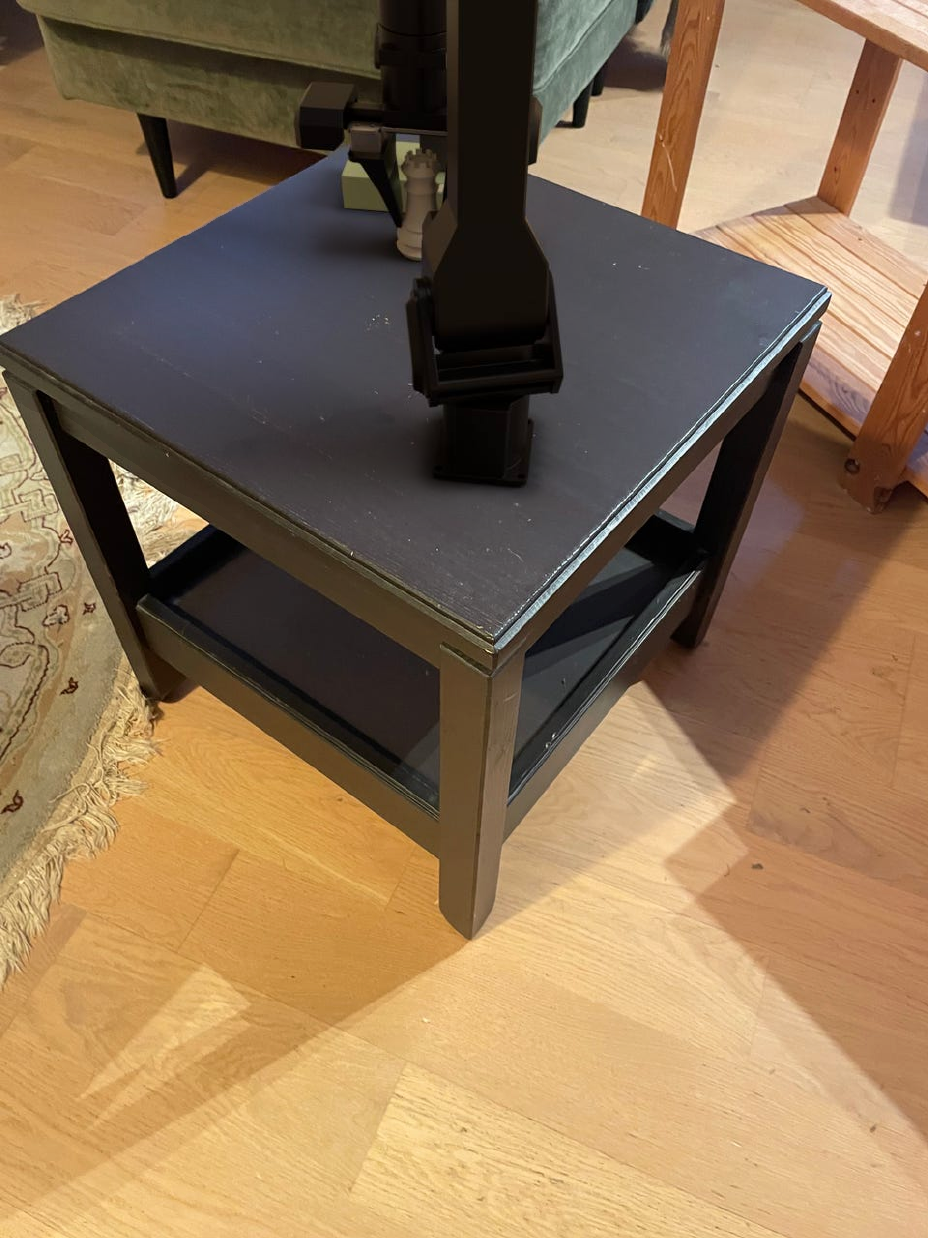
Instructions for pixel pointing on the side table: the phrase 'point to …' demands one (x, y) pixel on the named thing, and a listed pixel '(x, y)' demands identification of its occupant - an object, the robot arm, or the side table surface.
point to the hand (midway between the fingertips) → (422, 226)
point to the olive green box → (364, 192)
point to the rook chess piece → (417, 199)
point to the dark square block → (435, 148)
